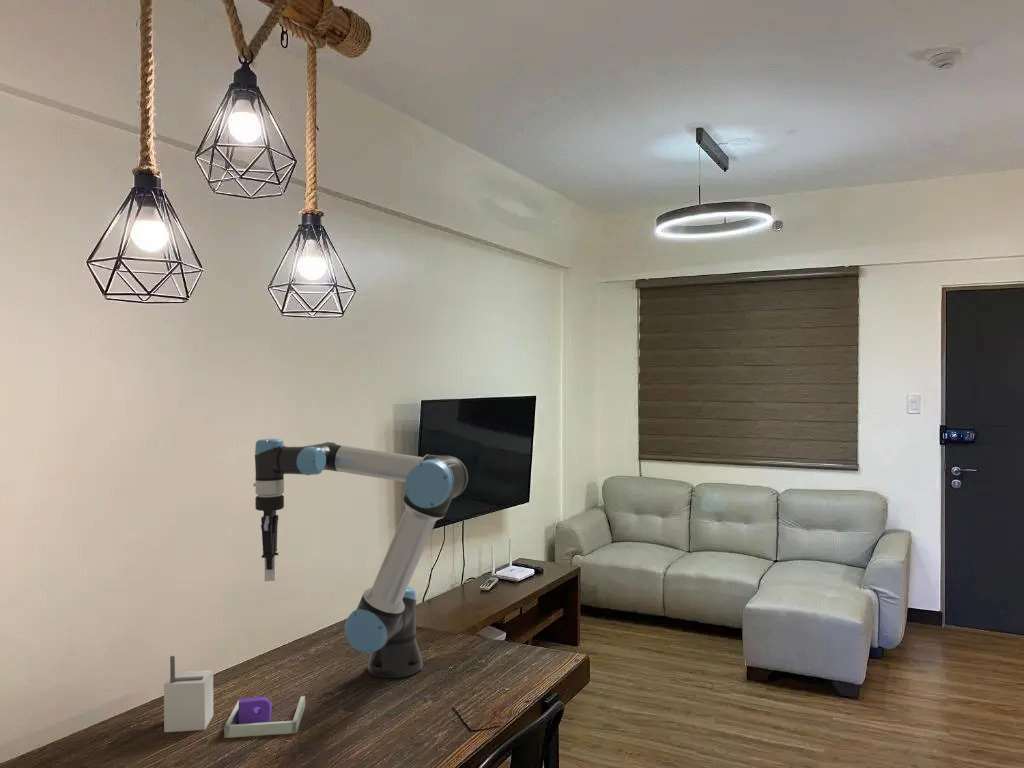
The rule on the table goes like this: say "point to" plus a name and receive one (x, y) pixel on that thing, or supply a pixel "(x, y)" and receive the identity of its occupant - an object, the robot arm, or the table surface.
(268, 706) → the bracket
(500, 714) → the table surface
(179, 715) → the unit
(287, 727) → the corral
